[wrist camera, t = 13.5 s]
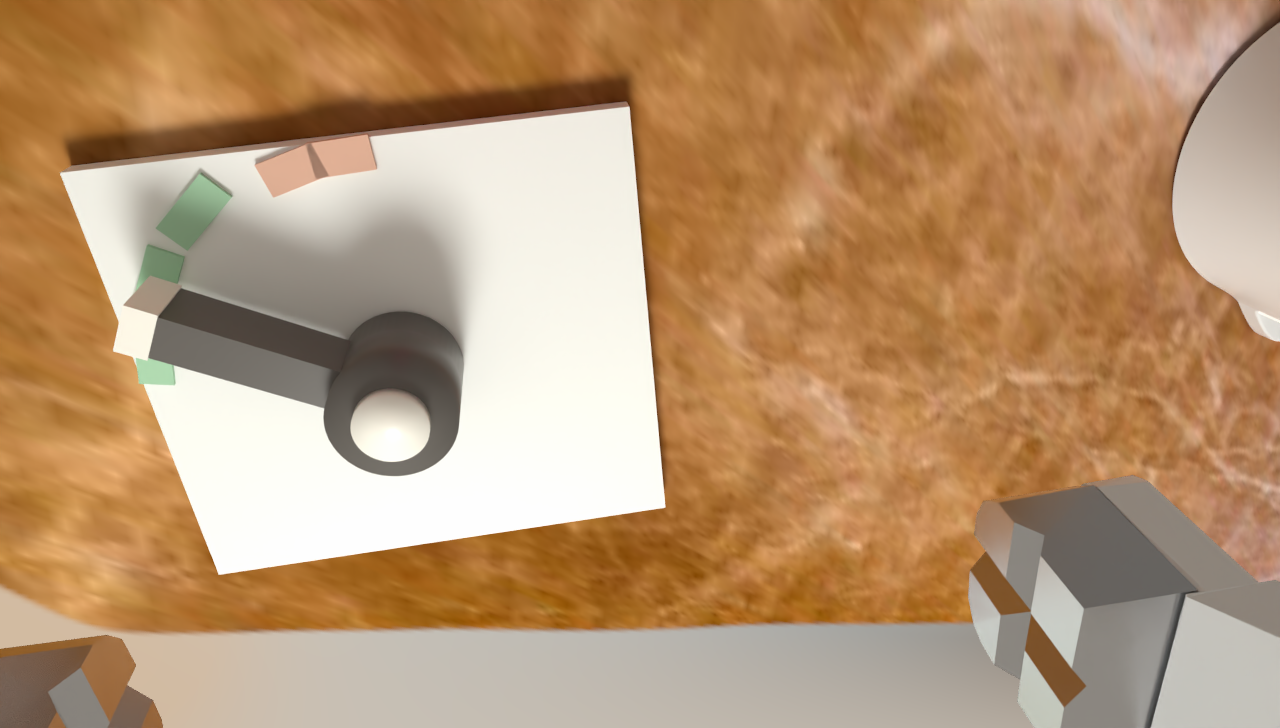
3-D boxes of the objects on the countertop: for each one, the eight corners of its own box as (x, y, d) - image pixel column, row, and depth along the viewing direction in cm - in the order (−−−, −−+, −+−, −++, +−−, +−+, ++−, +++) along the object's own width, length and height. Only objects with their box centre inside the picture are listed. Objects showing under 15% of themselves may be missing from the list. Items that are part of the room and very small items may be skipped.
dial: (480, 333, 40) (476, 394, 35) (442, 429, 42) (434, 498, 37) (166, 231, 36) (114, 283, 31) (140, 341, 38) (89, 406, 33)
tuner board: (626, 97, 37) (629, 104, 36) (662, 496, 47) (665, 509, 46) (67, 162, 36) (54, 170, 35) (223, 561, 45) (216, 577, 44)
